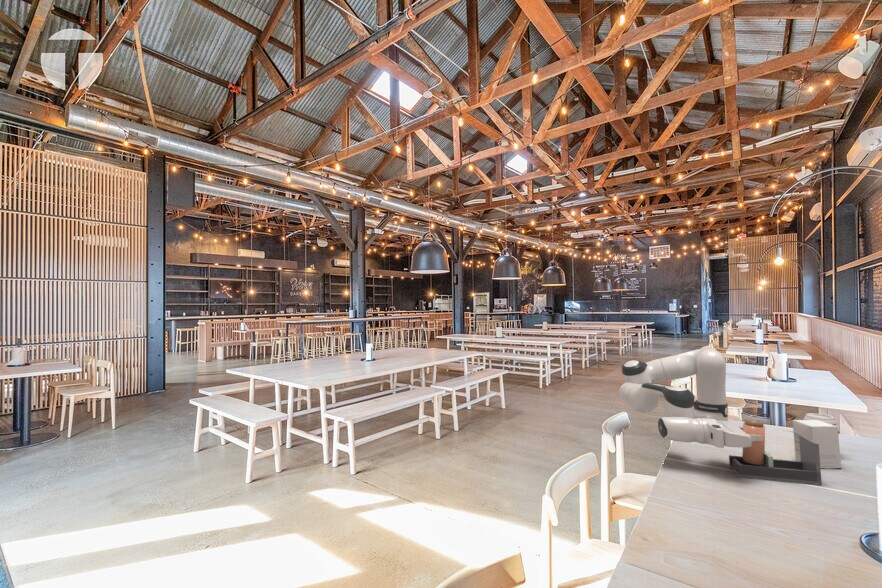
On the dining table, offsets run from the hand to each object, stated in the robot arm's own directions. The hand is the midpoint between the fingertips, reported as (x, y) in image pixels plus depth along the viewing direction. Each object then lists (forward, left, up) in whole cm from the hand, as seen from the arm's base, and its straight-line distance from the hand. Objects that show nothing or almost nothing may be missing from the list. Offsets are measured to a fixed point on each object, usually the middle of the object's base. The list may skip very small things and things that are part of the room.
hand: (757, 434), depth 138 cm
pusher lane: (+3, +2, -13) cm, 14 cm away
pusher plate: (+2, +1, -12) cm, 12 cm away
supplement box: (+10, +27, -14) cm, 32 cm away
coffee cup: (+9, +41, -14) cm, 44 cm away
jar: (-1, -1, -9) cm, 10 cm away
